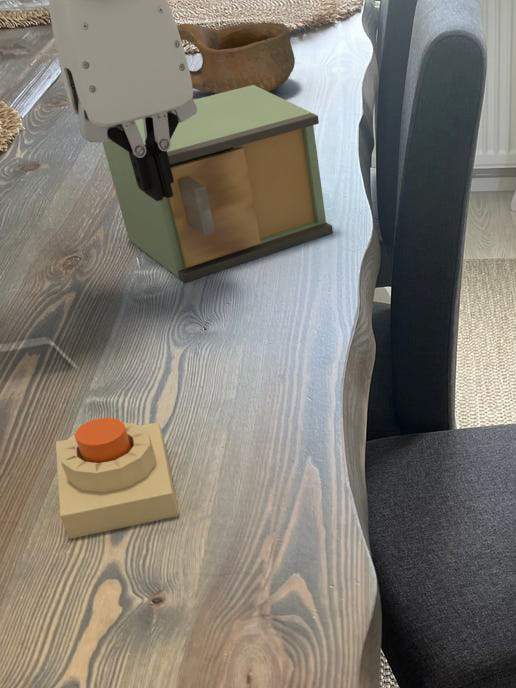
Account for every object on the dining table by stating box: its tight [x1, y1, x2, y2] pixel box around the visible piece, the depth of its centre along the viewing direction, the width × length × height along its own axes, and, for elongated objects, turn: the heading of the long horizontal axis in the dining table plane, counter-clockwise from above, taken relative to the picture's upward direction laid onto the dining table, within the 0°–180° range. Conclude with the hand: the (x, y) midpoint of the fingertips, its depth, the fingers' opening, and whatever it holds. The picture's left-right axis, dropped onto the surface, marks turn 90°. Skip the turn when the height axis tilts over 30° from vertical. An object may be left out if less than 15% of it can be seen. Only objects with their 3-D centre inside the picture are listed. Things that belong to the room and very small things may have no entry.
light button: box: [74, 417, 131, 463], centre depth 75 cm, size 4×4×2 cm
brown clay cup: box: [176, 22, 296, 95], centre depth 141 cm, size 18×14×10 cm
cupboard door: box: [169, 147, 261, 267], centre depth 100 cm, size 9×4×10 cm, turn 128°
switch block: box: [55, 421, 180, 540], centre depth 76 cm, size 10×8×4 cm
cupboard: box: [101, 85, 334, 283], centre depth 106 cm, size 18×13×12 cm
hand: (158, 194), depth 94 cm, fingers closed
